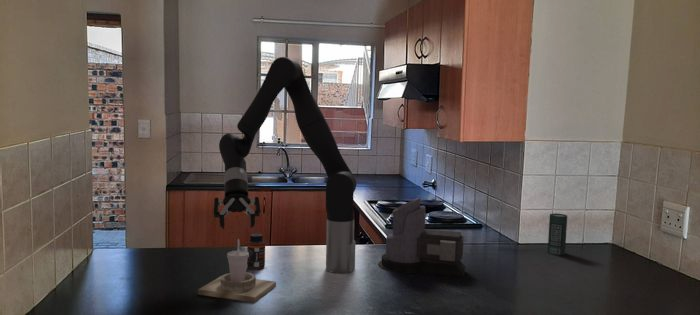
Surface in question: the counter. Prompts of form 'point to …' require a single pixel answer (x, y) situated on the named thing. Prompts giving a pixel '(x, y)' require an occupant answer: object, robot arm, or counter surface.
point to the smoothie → (237, 264)
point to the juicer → (421, 245)
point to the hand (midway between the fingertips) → (237, 227)
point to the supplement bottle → (256, 252)
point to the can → (557, 234)
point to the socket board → (239, 294)
